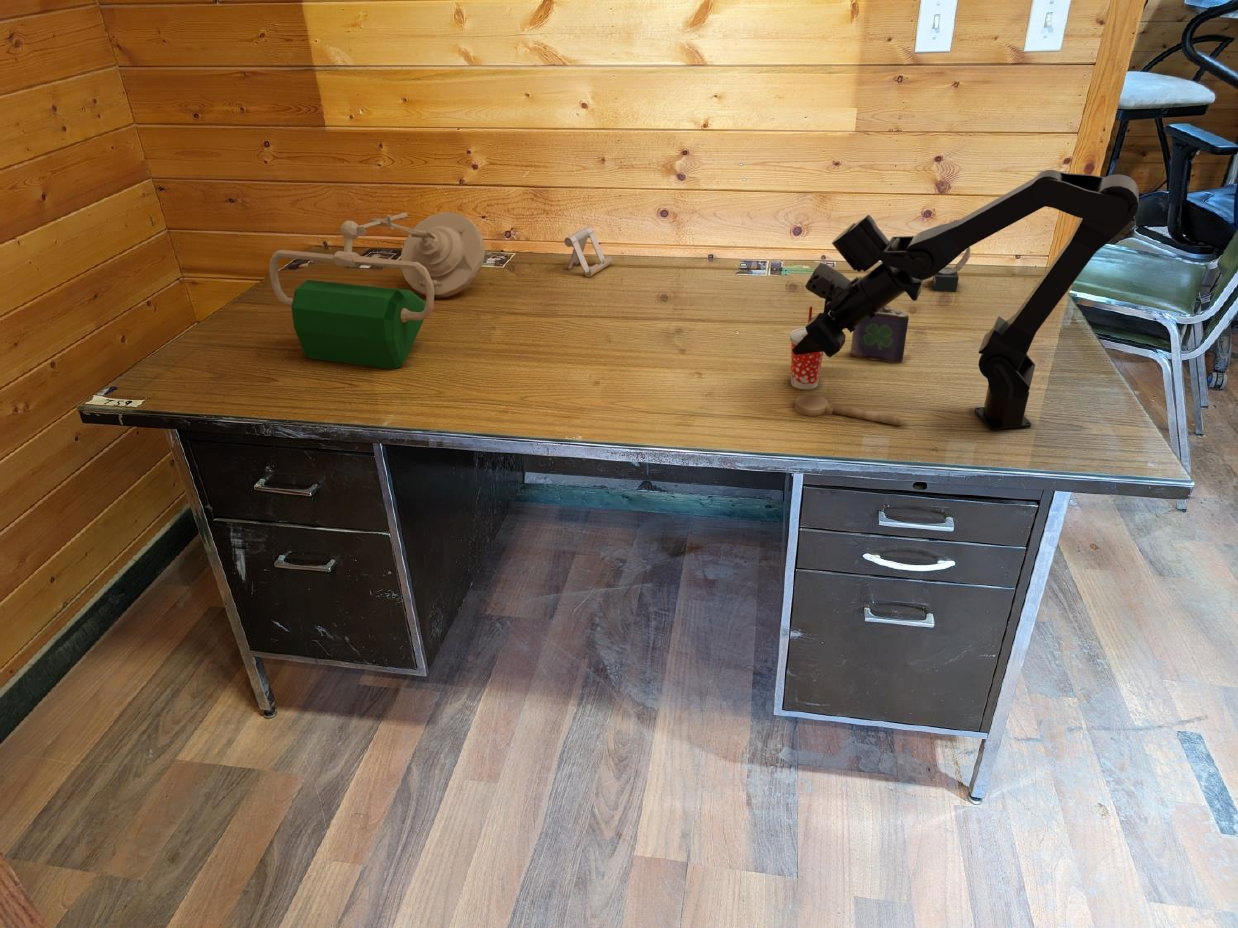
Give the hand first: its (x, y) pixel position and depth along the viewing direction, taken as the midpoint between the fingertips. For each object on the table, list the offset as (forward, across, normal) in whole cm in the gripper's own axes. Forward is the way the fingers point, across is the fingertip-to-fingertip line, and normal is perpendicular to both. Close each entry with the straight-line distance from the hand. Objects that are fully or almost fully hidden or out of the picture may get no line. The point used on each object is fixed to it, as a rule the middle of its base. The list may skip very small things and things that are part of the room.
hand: (799, 344), depth 151 cm
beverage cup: (+4, 0, +6) cm, 7 cm away
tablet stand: (+47, -35, -37) cm, 69 cm away
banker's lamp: (+62, +2, -52) cm, 81 cm away
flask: (-2, -14, +12) cm, 19 cm away
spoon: (-2, +8, +12) cm, 15 cm away
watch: (-6, -53, +16) cm, 55 cm away
